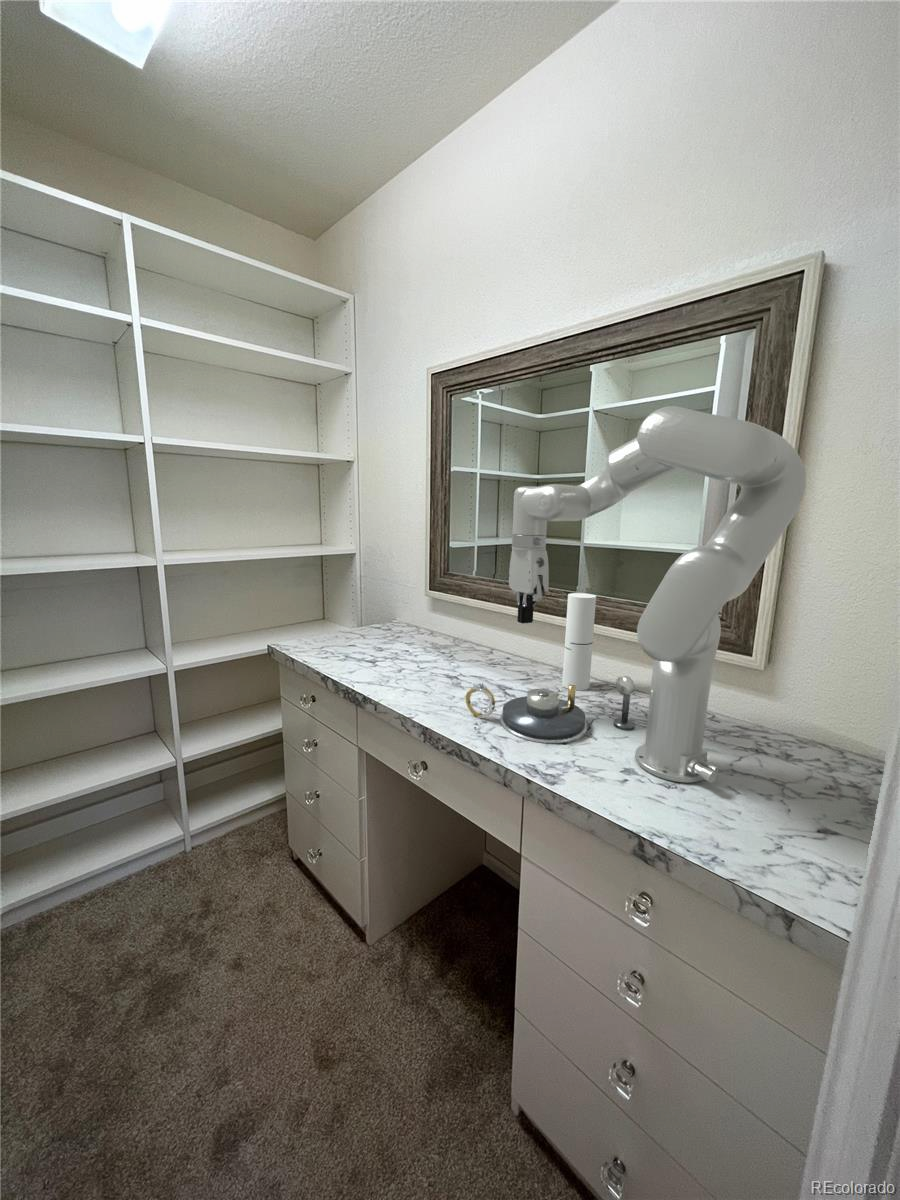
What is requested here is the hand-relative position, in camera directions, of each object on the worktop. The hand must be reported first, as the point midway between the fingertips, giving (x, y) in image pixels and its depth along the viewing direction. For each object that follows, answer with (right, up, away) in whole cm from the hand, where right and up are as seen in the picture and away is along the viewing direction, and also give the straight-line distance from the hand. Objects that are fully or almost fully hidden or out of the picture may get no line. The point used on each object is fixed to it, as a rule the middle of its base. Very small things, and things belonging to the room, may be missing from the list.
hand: (525, 622), depth 109 cm
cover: (+3, -20, -5) cm, 20 cm away
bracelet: (-11, -22, -2) cm, 24 cm away
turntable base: (+3, -22, -4) cm, 23 cm away
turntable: (+3, -22, -4) cm, 23 cm away
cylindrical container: (+17, -18, +19) cm, 31 cm away
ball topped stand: (+21, -23, -5) cm, 31 cm away
